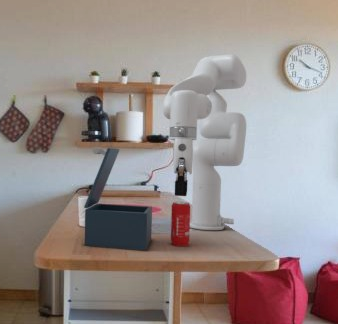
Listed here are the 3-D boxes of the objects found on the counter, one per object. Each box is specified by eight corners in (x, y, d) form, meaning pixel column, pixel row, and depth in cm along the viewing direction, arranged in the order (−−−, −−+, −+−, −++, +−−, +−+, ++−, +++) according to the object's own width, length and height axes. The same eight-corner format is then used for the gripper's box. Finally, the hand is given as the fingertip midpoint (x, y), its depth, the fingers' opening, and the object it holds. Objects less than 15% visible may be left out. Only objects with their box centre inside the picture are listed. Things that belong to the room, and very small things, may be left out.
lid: (119, 149, 119) (103, 142, 120) (110, 148, 105) (91, 141, 106) (98, 202, 121) (82, 195, 122) (86, 208, 107) (68, 200, 109)
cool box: (151, 239, 117) (152, 206, 117) (145, 250, 103) (146, 213, 103) (96, 235, 121) (97, 203, 121) (84, 245, 108) (85, 209, 107)
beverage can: (178, 247, 108) (180, 204, 108) (167, 243, 113) (168, 201, 113) (193, 245, 111) (194, 203, 110) (180, 241, 115) (182, 201, 115)
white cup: (97, 228, 133) (98, 199, 132) (75, 226, 134) (75, 198, 134) (101, 224, 140) (102, 196, 140) (80, 222, 142) (80, 195, 142)
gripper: (197, 132, 102) (194, 197, 102) (196, 136, 118) (194, 192, 119) (167, 132, 103) (165, 196, 104) (171, 136, 120) (169, 191, 120)
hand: (181, 194), depth 111 cm, fingers open, 9 cm apart
